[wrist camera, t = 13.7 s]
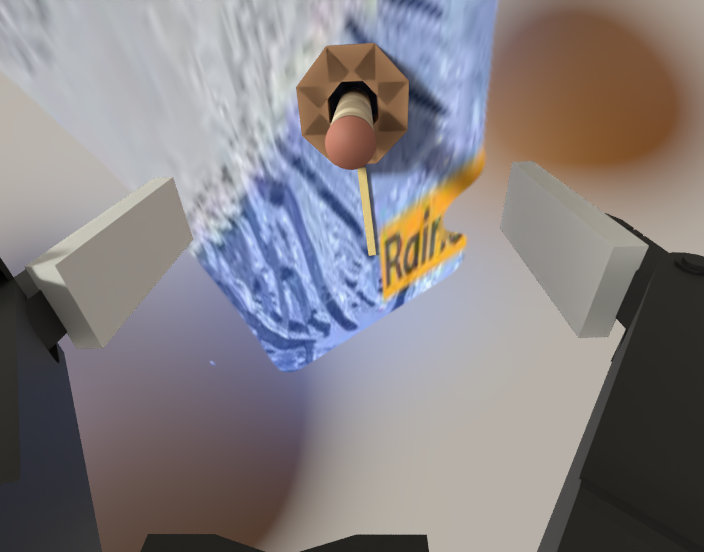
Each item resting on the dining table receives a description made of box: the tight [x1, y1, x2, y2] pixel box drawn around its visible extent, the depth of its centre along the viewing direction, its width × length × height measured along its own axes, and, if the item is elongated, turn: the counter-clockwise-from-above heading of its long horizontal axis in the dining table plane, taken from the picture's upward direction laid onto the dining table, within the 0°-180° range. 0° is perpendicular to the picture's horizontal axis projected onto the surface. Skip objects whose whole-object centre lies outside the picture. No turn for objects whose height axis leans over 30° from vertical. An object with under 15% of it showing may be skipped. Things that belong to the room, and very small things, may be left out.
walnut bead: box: [296, 43, 409, 165], centre depth 35 cm, size 10×10×4 cm
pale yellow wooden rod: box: [358, 167, 376, 255], centre depth 43 cm, size 11×1×1 cm, turn 8°
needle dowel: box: [325, 88, 376, 170], centre depth 30 cm, size 3×3×16 cm
